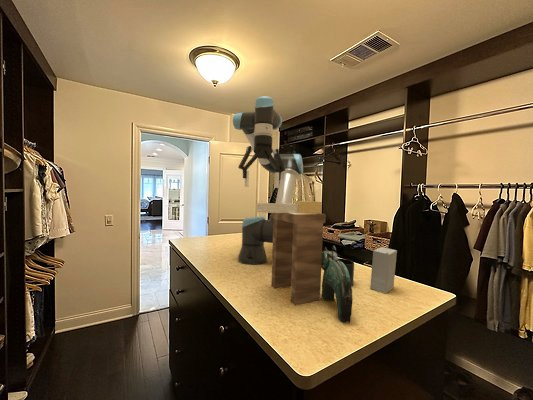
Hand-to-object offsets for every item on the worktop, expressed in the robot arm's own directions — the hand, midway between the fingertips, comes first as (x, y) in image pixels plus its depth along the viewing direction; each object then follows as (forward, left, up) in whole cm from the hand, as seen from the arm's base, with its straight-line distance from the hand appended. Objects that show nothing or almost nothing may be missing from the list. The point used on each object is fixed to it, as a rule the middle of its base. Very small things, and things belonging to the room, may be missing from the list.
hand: (261, 187), depth 106 cm
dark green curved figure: (+35, +7, -39) cm, 53 cm away
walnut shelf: (+19, +3, -39) cm, 43 cm away
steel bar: (+21, -3, -9) cm, 23 cm away
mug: (+21, +26, -39) cm, 51 cm away
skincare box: (+34, +36, -39) cm, 63 cm away
